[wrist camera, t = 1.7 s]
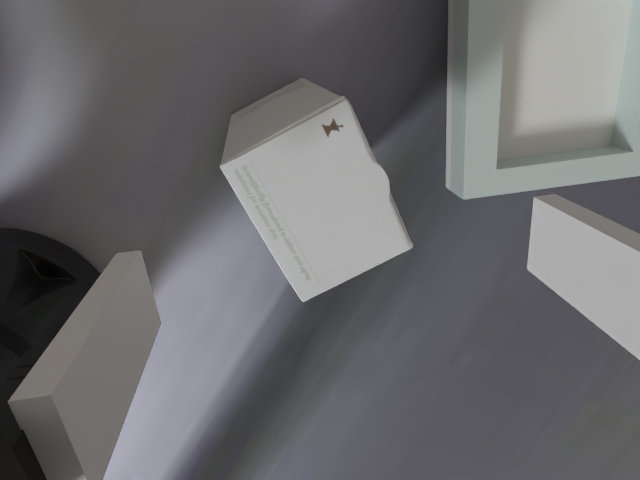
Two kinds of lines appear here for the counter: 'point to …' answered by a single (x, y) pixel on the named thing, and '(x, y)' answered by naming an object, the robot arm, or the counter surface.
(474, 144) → the square shallow tray
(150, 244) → the counter surface
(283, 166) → the skincare box
